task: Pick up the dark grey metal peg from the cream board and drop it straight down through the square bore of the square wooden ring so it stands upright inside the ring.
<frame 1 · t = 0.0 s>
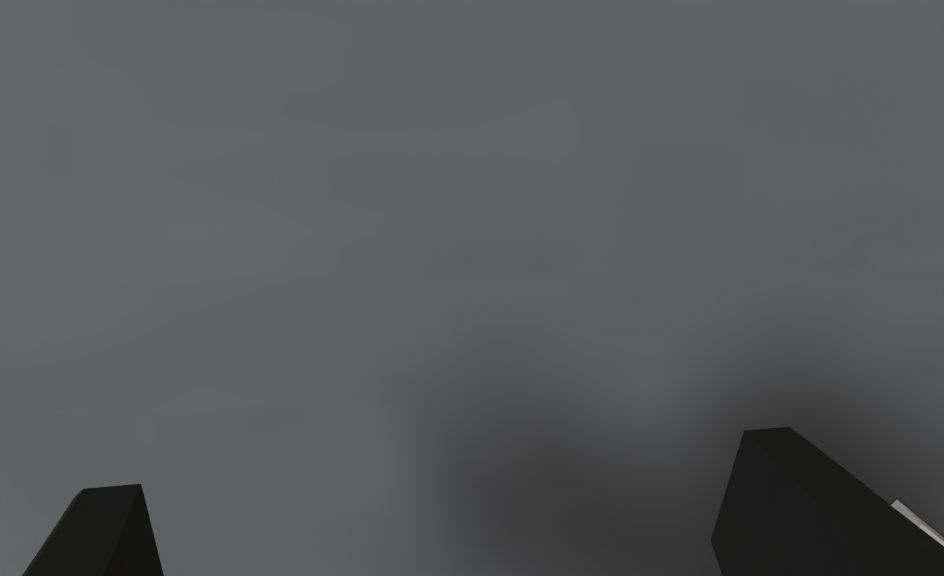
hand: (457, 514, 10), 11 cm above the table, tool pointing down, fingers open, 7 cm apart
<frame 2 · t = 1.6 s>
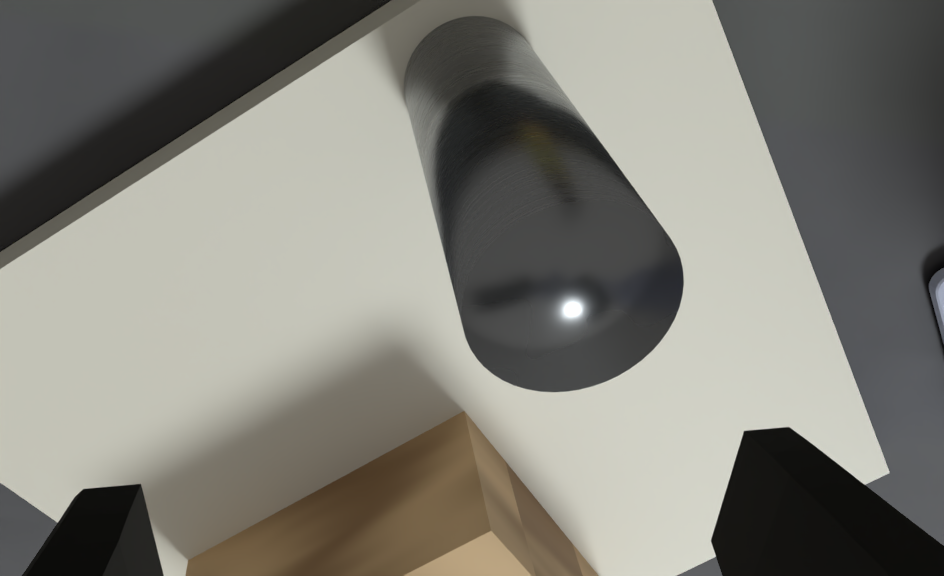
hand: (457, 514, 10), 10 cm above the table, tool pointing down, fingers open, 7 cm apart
metal peg: (472, 85, 17), point 1 cm above the table, touching board
square wooden ring: (409, 570, 25), point 1 cm above the table, touching board
board: (451, 401, 23), on the table
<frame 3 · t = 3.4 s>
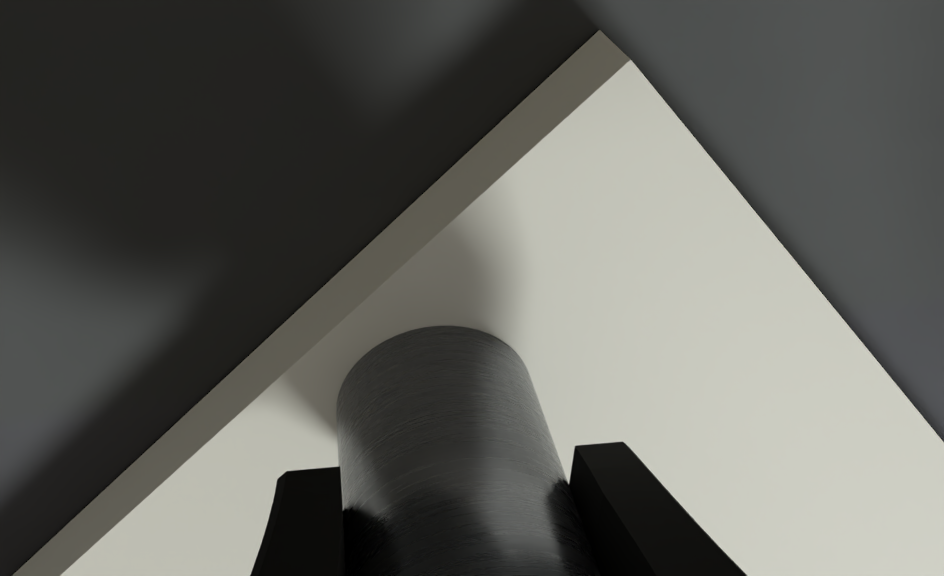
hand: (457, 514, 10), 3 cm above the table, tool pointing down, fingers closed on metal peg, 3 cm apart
metal peg: (436, 405, 12), point 1 cm above the table, touching board, gripper
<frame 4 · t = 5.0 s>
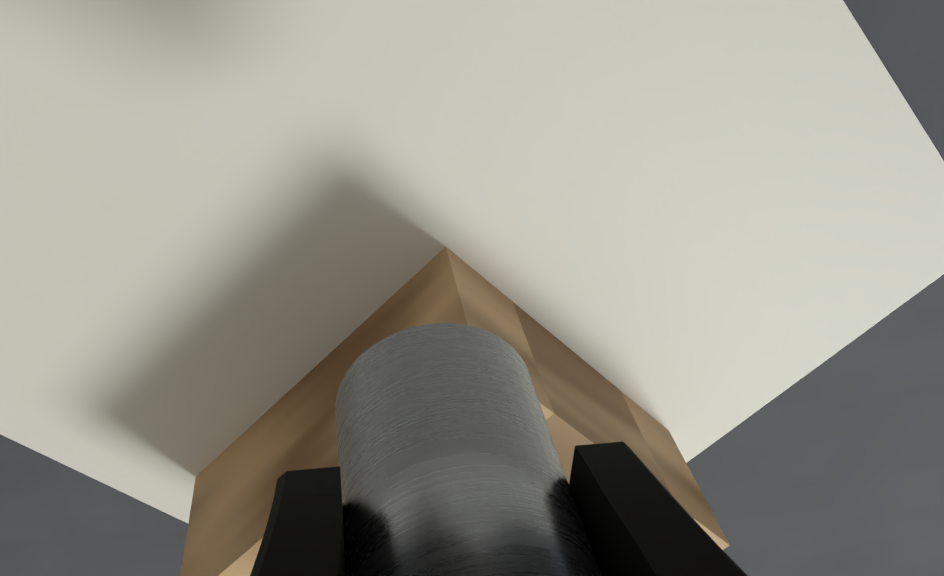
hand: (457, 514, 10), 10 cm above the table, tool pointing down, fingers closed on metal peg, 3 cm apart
metal peg: (435, 403, 12), point 8 cm above the table, touching gripper
square wooden ring: (442, 452, 22), point 1 cm above the table, touching board
board: (438, 246, 20), on the table
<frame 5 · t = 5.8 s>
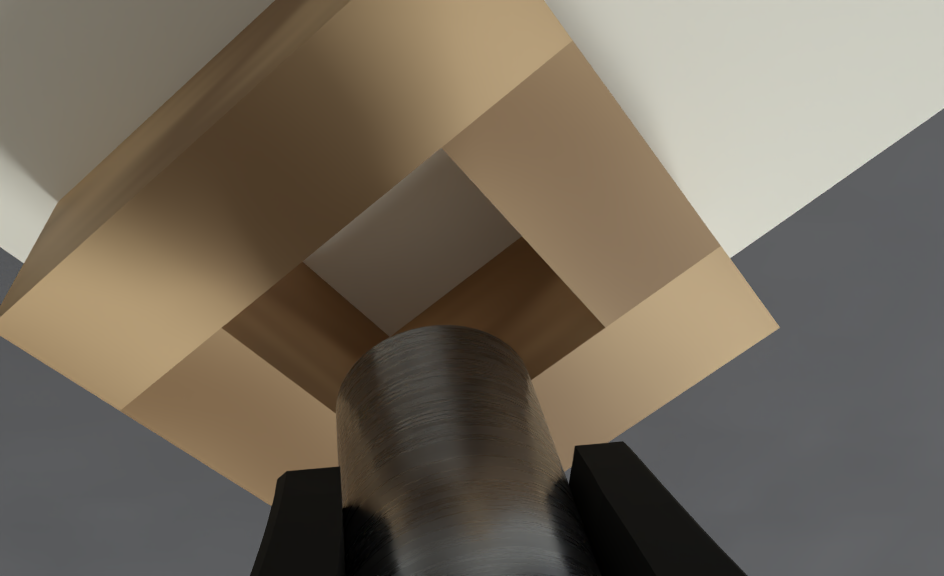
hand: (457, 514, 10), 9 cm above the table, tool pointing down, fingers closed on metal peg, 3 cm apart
metal peg: (435, 405, 12), point 7 cm above the table, touching gripper
square wooden ring: (399, 211, 16), point 1 cm above the table, touching board
when the fingers open (6 cm above the table, at t = 6.6 s): metal peg drops 3 cm, resting on board.
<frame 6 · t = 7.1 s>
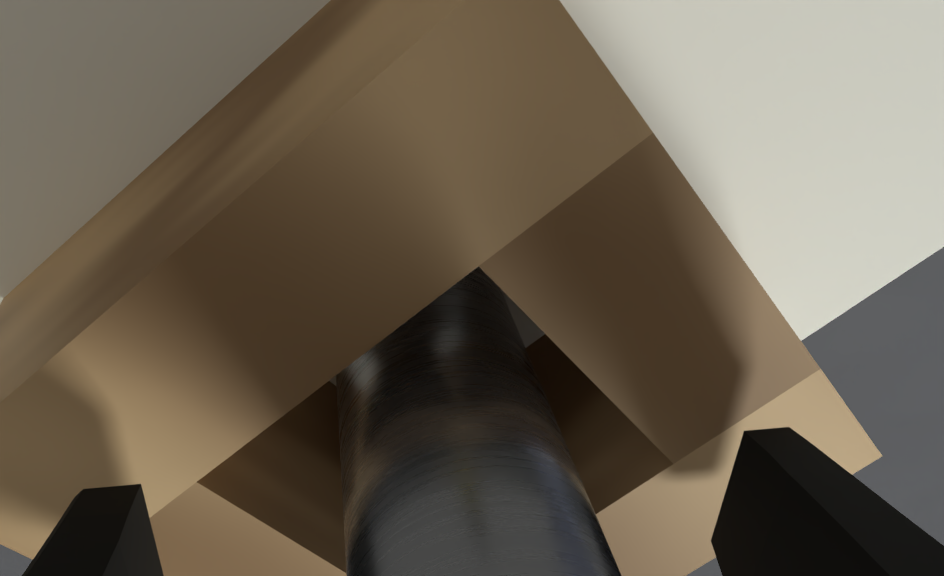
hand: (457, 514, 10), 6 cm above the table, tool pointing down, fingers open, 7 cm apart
metal peg: (416, 304, 14), point 1 cm above the table, touching board
square wooden ring: (415, 300, 14), point 1 cm above the table, touching board
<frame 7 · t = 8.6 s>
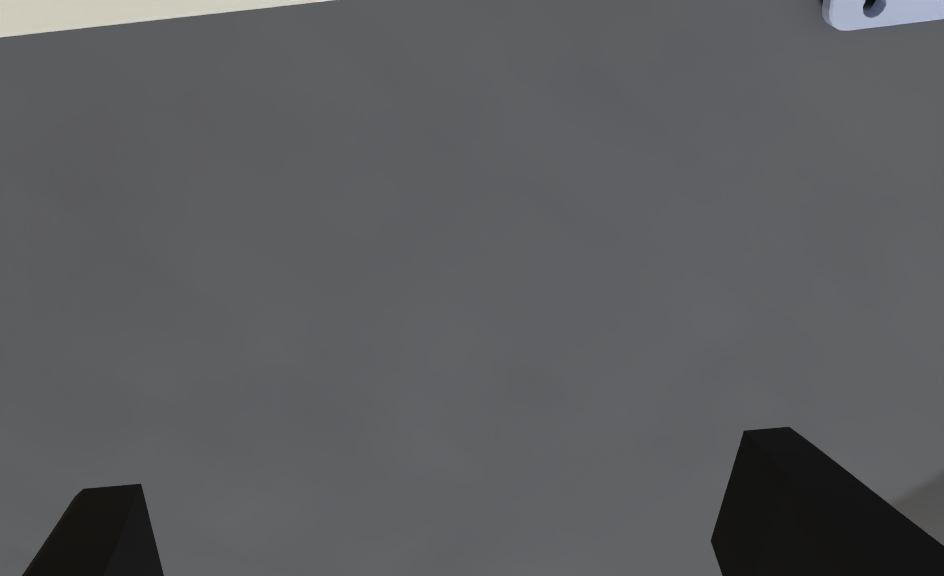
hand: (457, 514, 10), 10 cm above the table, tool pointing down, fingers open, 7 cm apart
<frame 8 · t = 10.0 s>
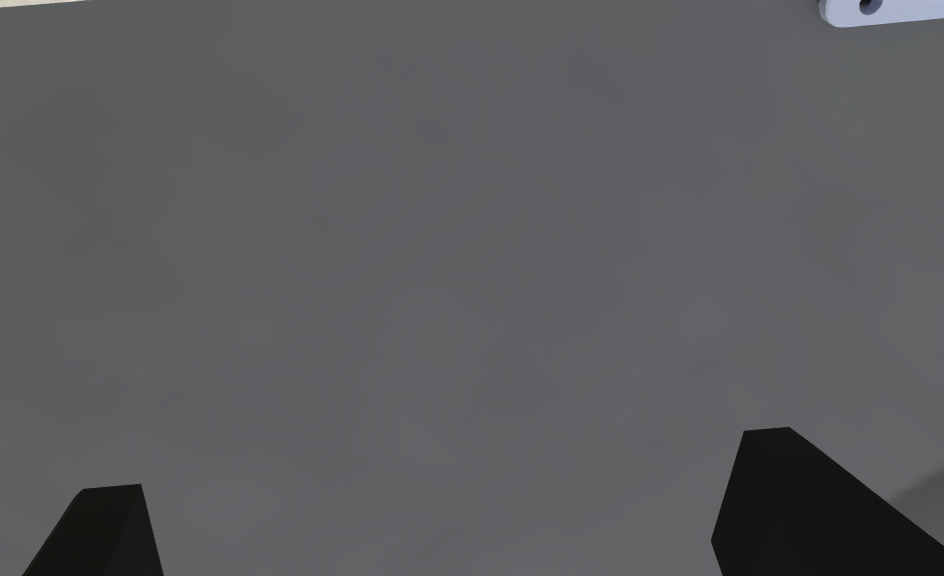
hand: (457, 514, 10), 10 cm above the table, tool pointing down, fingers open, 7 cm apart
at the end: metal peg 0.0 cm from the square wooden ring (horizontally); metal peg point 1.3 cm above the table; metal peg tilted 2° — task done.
